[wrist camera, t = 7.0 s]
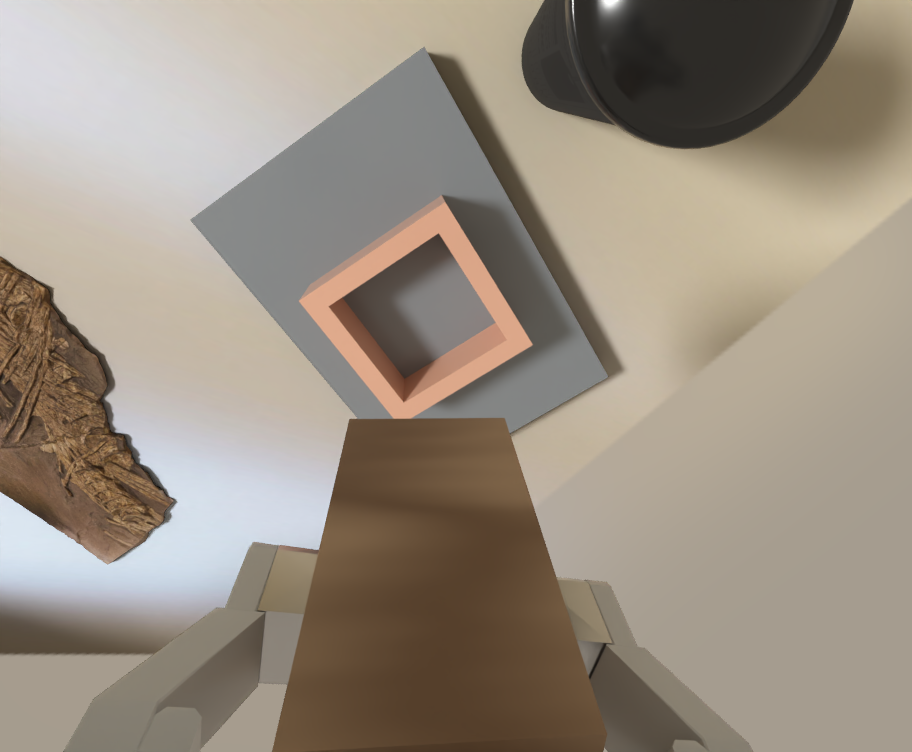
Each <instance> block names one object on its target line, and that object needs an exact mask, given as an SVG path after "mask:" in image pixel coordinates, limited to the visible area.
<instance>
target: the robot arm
mask: <svg viewBox="0 0 912 752" xmlns="http://www.w3.org/2000/svg"><path fill="white" fill-rule="evenodd" d="M318 552H319V550H313V549H305V548H298V547H291V546H284V545H280V546H279V545H272V544H265V543H258V542H253V543H252V545H251V546H250V547H249V549H248V552H247V554H246V557H245V559H244V562H243V564H242V567H241V569H240V572H239V574H238V577H237V579H236V582H235V584H234V586H233V589H232V591H231V594H230V596H229V599H228V601H227V604H226V606H225V608H215V609H214V610H213V611H211V612H210V613H209V614H207V615H206V616H205V617H203V618H202V619H201V620H199V621H198V622H197V623H195V624H194V625H193V626H191V627H190V628H189V629H187V630H186V631H184V632H183V633H182V634H180V635H179V636H178V637H176V638H175V639H174V640H172V641H171V642H170V643H168V644H167V645H166V646H164V647H163V648H162V649H160V650H159V651H157V652H156V653H155V654H153V655H152V656H151V657H149V658H148V659H147V660H145V661H144V662H143V663H141V664H140V665H139V666H137V667H136V668H135V669H133V670H132V671H131V672H129V673H128V674H126V675H125V676H124V677H122V678H121V679H120V680H118V681H117V682H116V683H115V684H113V685H112V686H110V687H109V688H108V689H106V690H105V691H104V692H102V693H101V694H100V695H98V696H97V697H95V698H94V699H93V701H92V703H91V705H90V706H89V708H88V710H87V712H86V713H85V715H84V717H83V718H82V720H81V722H80V724H79V725H78V727H77V729H76V730H75V732H74V734H73V736H72V738H71V739H70V741H69V743H68V744H67V746H66V748H65V749H64V751H63V752H200V749H201V748H202V747H203V746H204V745H205V744H206V743H207V742H208V741H209V739H210V738H211V737H212V736H213V735H214V734H215V733H216V732H217V731H218V729H219V728H220V727H221V726H222V725H223V724H224V723H225V722H226V721H227V720H228V718H229V717H230V716H231V715H232V714H233V713H234V712H235V711H236V709H237V708H238V707H239V706H240V705H241V704H242V703H243V702H244V701H245V699H247V697H248V696H249V695H250V694H251V693H252V692H253V691H254V690H255V689H256V687H257V686H258V683H269V684H288V681H289V677H290V673H291V668H292V664H293V660H294V655H295V651H296V647H297V643H298V638H299V634H300V630H301V625H302V621H303V617H304V613H305V608H306V604H307V600H308V595H309V591H310V587H311V583H312V578H313V574H314V570H315V565H316V561H317V557H318ZM556 578H557V581H558V584H559V587H560V590H561V593H562V596H563V599H564V602H565V606H566V609H567V612H568V615H569V618H570V621H571V624H572V627H573V630H574V633H575V636H576V639H577V643H578V646H579V649H580V652H581V655H582V658H583V661H584V664H585V667H586V670H587V673H588V676H589V679H590V683H591V686H592V689H593V692H594V695H595V698H596V701H597V704H598V707H599V710H600V713H601V716H602V720H603V723H604V726H605V729H606V732H607V737H606V742H605V746H604V747H605V749H606V750H607V751H608V752H753V750H752V748H751V746H750V745H749V743H748V742H747V741H746V740H745V739H744V738H743V737H742V736H741V735H739V734H738V733H737V732H736V731H735V730H734V729H733V728H731V726H730V725H728V724H727V723H726V722H725V721H724V720H723V719H722V718H721V717H720V716H719V715H718V714H716V713H715V712H714V711H713V710H712V709H711V708H710V707H709V706H708V705H707V704H705V703H704V702H703V701H702V700H701V699H700V698H699V697H698V696H697V695H696V694H695V693H694V692H692V691H691V690H690V689H689V688H688V687H687V686H686V685H685V684H684V683H682V682H681V681H680V680H679V679H678V678H677V677H676V676H675V675H674V674H673V673H672V672H670V671H669V670H668V669H667V668H666V667H665V666H664V665H663V664H662V663H661V662H660V661H658V660H657V659H656V658H655V657H654V656H653V655H652V654H651V653H650V652H649V651H648V650H646V649H645V648H641V647H638V646H637V644H636V642H635V639H634V637H633V635H632V633H631V630H630V628H629V626H628V623H627V621H626V619H625V617H624V614H623V612H622V610H621V608H620V605H619V603H618V601H617V599H616V597H615V594H614V592H613V590H612V588H611V586H610V585H609V584H608V583H607V582H602V581H592V580H579V579H571V578H561V577H556Z"/></svg>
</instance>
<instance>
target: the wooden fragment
mask: <svg viewBox="0 0 912 752" xmlns="http://www.w3.org/2000/svg"><path fill="white" fill-rule="evenodd" d="M107 385H108V384H107V382H106V377H105V374H104V371H103V369H102V367H101V365H100V363H99V360H98V358H97V356H96V355H95V354H92V353H91V352H89V351H88V350H87V349H86V348H85V347H84V345H83V344H82V343H81V342H80V340H79V339H78V338H77V337H76V336H75V335H73V334H72V333H71V332H70V331H69V330H68V328H67V327H66V326H65V325H64V324H63V322H61V320H60V317H59V316H58V314H57V313H56V311H55V310H54V309H53V307H52V305H51V304H50V292H49V290H48V289H47V288H46V287H44V286H43V285H42V284H40V283H38V282H37V281H36V280H35V279H34V278H33V277H31V276H30V275H28V274H26V273H24V272H22V271H19V270H17V269H16V268H14V267H13V266H12V265H10V264H9V263H7V262H6V261H5V260H4V259H3V258H1V257H0V492H1V493H3V494H5V495H6V496H8V497H9V498H11V499H13V500H14V501H15V502H17V503H19V504H20V505H22V506H23V507H24V508H26V509H28V510H29V511H30V512H32V513H33V514H35V515H37V516H38V517H40V518H41V519H43V520H44V521H45V522H47V523H48V524H49V525H52V526H53V527H55V528H56V529H57V530H59V531H61V532H63V533H65V535H67V536H68V537H70V538H71V539H74V540H75V541H76V542H77V543H79V544H81V545H83V546H84V548H85V549H86V550H88V551H89V552H91V553H92V554H94V555H95V556H97V558H98V559H100V560H102V561H103V562H105V563H106V564H109V563H111V562H113V561H114V560H115V559H117V558H118V557H120V556H121V555H122V554H124V553H126V552H127V551H129V550H130V549H132V548H134V547H136V546H138V545H140V544H142V543H143V542H144V541H145V540H146V539H147V537H148V532H149V531H151V530H152V529H153V528H155V527H156V526H159V525H160V524H161V523H162V522H163V521H164V518H165V517H164V513H165V510H166V509H167V508H168V507H169V506H170V505H171V504H172V503H173V499H172V498H170V497H168V496H166V495H165V493H164V490H162V489H159V487H157V486H155V485H154V484H153V481H152V479H151V477H150V476H149V475H148V473H147V472H146V473H145V471H144V470H143V469H142V468H140V466H139V465H138V464H136V463H135V462H134V460H133V458H132V452H131V450H130V449H129V448H128V446H127V443H126V440H125V437H124V435H121V434H116V433H112V432H111V430H110V427H109V423H108V422H107V420H108V418H107V414H106V412H105V410H104V408H103V403H102V402H101V401H100V400H101V398H102V397H103V394H104V392H105V391H106V390H105V389H106V388H107Z"/></svg>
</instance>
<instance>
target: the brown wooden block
mask: <svg viewBox="0 0 912 752" xmlns="http://www.w3.org/2000/svg"><path fill="white" fill-rule="evenodd" d="M606 737H607V732H606V729H605V726H604V723H603V720H602V716H601V713H600V710H599V707H598V704H597V701H596V698H595V695H594V692H593V689H592V686H591V683H590V679H589V676H588V673H587V670H586V667H585V664H584V661H583V658H582V655H581V652H580V649H579V646H578V643H577V639H576V636H575V633H574V630H573V627H572V624H571V621H570V618H569V615H568V612H567V609H566V606H565V602H564V599H563V596H562V593H561V590H560V587H559V584H558V581H557V578H556V575H555V572H554V569H553V566H552V562H551V559H550V556H549V553H548V550H547V547H546V544H545V541H544V538H543V535H542V532H541V528H540V525H539V522H538V519H537V516H536V513H535V510H534V507H533V504H532V501H531V498H530V495H529V492H528V488H527V485H526V482H525V479H524V476H523V473H522V470H521V467H520V464H519V461H518V458H517V455H516V451H515V448H514V445H513V442H512V439H511V436H510V433H509V430H508V427H507V424H506V421H505V418H413V419H349V424H348V428H347V432H346V437H345V441H344V445H343V450H342V454H341V458H340V462H339V467H338V471H337V475H336V480H335V484H334V488H333V492H332V497H331V501H330V505H329V510H328V514H327V518H326V522H325V527H324V531H323V535H322V540H321V544H320V548H319V552H318V557H317V561H316V565H315V570H314V574H313V578H312V583H311V587H310V591H309V595H308V600H307V604H306V608H305V613H304V617H303V621H302V625H301V630H300V634H299V638H298V643H297V647H296V651H295V655H294V660H293V664H292V668H291V673H290V677H289V681H288V686H287V690H286V694H285V698H284V703H283V707H282V711H281V716H280V720H279V724H278V728H277V733H276V737H275V742H274V746H273V750H272V752H603V750H604V746H605V742H606Z"/></svg>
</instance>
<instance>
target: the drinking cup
mask: <svg viewBox="0 0 912 752" xmlns="http://www.w3.org/2000/svg"><path fill="white" fill-rule="evenodd" d="M853 1H854V0H544V2H543V4H542V6H541V8H540V9H539V11H538V13H537V15H536V16H535V18H534V20H533V22H532V24H531V25H530V27H529V29H528V31H527V34H526V37H525V40H524V43H523V49H522V70H523V75H524V78H525V81H526V84H527V86H528V88H529V90H530V91H531V93H532V94H533V95H534V97H535V98H536V99H537V100H538V101H539V102H541V103H542V104H543V105H545V106H546V107H548V108H550V109H553V110H556V111H560V112H564V113H568V114H572V115H576V116H581V117H585V118H589V119H593V120H597V121H601V122H605V123H609V124H613V125H616V126H618V127H619V128H620V129H621V130H623V131H624V132H626V133H628V134H630V135H631V136H633V137H635V138H637V139H639V140H641V141H644V142H647V143H650V144H653V145H656V146H661V147H666V148H676V149H697V148H705V147H711V146H715V145H719V144H723V143H726V142H729V141H732V140H735V139H737V138H739V137H741V136H743V135H746V134H748V133H750V132H752V131H753V130H755V129H757V128H758V127H760V126H762V125H763V124H765V123H766V122H767V121H769V120H770V119H772V118H773V117H774V116H776V115H777V114H778V113H779V112H781V111H782V110H783V109H784V108H785V107H786V106H788V105H789V104H790V103H791V102H792V101H793V100H794V99H795V98H796V97H797V96H798V95H799V94H800V93H801V92H802V90H803V89H804V88H805V87H806V86H807V85H808V84H809V82H810V81H811V80H812V79H813V77H814V76H815V75H816V73H817V72H818V71H819V69H820V68H821V66H822V65H823V63H824V62H825V60H826V59H827V57H828V56H829V54H830V52H831V50H832V49H833V47H834V45H835V43H836V42H837V40H838V38H839V35H840V33H841V31H842V29H843V27H844V25H845V23H846V20H847V17H848V15H849V12H850V10H851V7H852V4H853Z"/></svg>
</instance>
